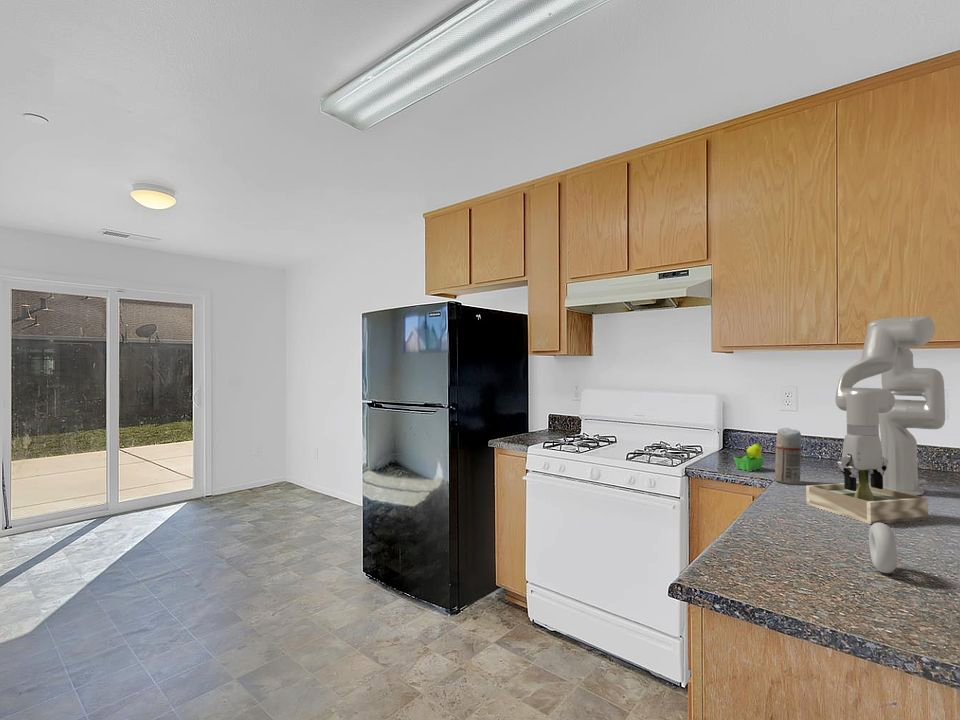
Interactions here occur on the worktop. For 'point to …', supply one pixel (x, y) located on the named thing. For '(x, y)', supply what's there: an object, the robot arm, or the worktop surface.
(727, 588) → the worktop surface
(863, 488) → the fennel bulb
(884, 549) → the donut
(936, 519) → the worktop surface
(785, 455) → the spray can
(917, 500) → the open wooden box
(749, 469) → the fruit basket
